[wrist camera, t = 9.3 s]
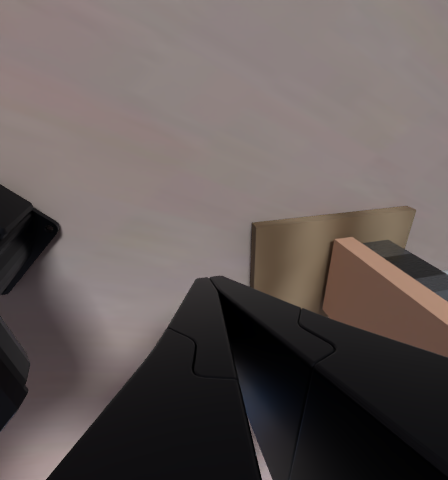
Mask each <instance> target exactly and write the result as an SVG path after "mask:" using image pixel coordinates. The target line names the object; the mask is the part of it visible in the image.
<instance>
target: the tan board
mask: <svg viewBox="0 0 448 480" xmlns="http://www.w3.org/2000/svg"><path fill="white" fill-rule="evenodd" d="M415 212H416V210H415V209H413V208H411V207H408V206H402V207H392V208H383V209H374V210H365V211H356V212H347V213H337V214H328V215H319V216H310V217H301V218H291V219H282V220H273V221H264V222H255V223H252V242H251V275H250V287H251V288H253V289H256V290H258V291H261V292H263V293H266V294H268V295H271V296H273V297H276V298H278V299H281V300H283V301H286V302H288V303H291V304H293V305H296V306H298V307H300V308H301V309H302V308H304V309H307V310H309V311H312V312H314V313H317V314H320V315H322V316H325V317H327V316H328V315H327V314H326V313H325V312H324V311H323V309H322V308H323V302H324V296H325V291H326V285H327V279H328V273H329V268H330V262H331V256H332V250H333V245H334V239H340V238H347V237H353V238H355V239H356V240H358V241H359V242H361V243H366V242H374V241H381V240H390V241H392V242H393V243H395V244H397V245H399V246H400V247H402V248H404V249H405V246H406V242H407V239H408V236H409V232H410V229H411V226H412V222H413V219H414V216H415Z"/></svg>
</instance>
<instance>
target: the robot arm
mask: <svg viewBox="0 0 448 480" xmlns="http://www.w3.org/2000/svg"><path fill="white" fill-rule="evenodd" d="M47 225H50V226H52V227H53V228H54V230H49V229H48V228H47ZM59 229H60V226H59V224H58V222H56V221H55V220H53V219H52V218H50V217H48V216H47V215H45V214H43V213H42V212H40V211H38V210H37V209H35V208H33V206H32V204H31V203H30V202H29V201H27V200H25V199H24V198H22V197H20V196H19V195H17V194H15V193H14V192H12V191H10V190H9V189H7V188H5V187H4V186H2V185H1V184H0V295H5V294H8V293H9V292H10V291H11V290H12V289H13V287H14V286H15V285H16V284H17V282H18V281H19V280H20V279H21V277H22V276H23V275H24V274H25V272H26V271H27V270H28V269H29V267H30V266H31V265H32V264H33V263H34V261H35V260H36V259H37V258H38V256H39V255H40V254H41V253H42V251H43V250H44V249H45V248H46V246H47V245H48V244H49V243H50V241H51V240H52V239H53V238H54V236H55V235H56V234H57V232H58V231H59ZM29 367H30V362H29V359H28V357H27V354H26V352H25V350H24V349H23V347H22V346H21V345H20V343H19V342H18V340H17V339H16V338H15V336H14V335H13V333H12V332H11V330H10V329H9V328H8V326H7V325H6V323H5V322H4V321H3V319H2V318H1V316H0V432H1V431H2V429H3V428H4V427H5V426H6V425H7V423H8V422H9V421H10V420H11V418H12V417H13V416H14V415H15V413H16V412H17V410H18V409H19V407H20V405H21V404H22V402H23V400H24V398H25V397H26V395H27V393H28V388H27V387H26V386H25V384H26V381H27V377H28V372H29ZM247 416H248V417H247ZM248 419H249V421H250V424H251V426H252V429H253V431H254V434H255V436H256V439H257V441H258V444H259V446H260V449H261V452H262V454H263V457H264V459H265V462H266V464H267V467H268V469H269V472H270V474H271V477H272V479H273V480H448V357H445V356H442V355H439V354H436V353H433V352H430V351H427V350H424V349H421V348H418V347H415V346H412V345H409V344H405V343H402V342H399V341H396V340H393V339H390V338H387V337H384V336H381V335H378V334H375V333H372V332H369V331H366V330H363V329H360V328H356V327H353V326H350V325H348V324H345V323H342V322H339V321H336V320H333V319H330V318H327V317H325V316H322V315H320V314H317V313H314V312H312V311H309V310H307V309H304V308H302V309H301V308H300V307H298V306H296V305H293V304H291V303H288V302H286V301H283V300H281V299H278V298H276V297H273V296H271V295H268V294H266V293H263V292H261V291H258V290H256V289H253V288H251V287H248V286H246V285H243V284H241V283H239V282H236V281H234V280H231V279H229V278H226V277H224V276H214V277H210V278H208V277H205V278H197V279H196V280H195V281H194V283H193V285H192V286H191V288H190V290H189V292H188V293H187V295H186V297H185V298H184V300H183V302H182V303H181V305H180V307H179V309H178V310H177V312H176V314H175V315H174V317H173V319H172V320H171V322H170V324H169V326H168V327H167V329H166V330H165V332H164V333H163V335H162V337H161V338H160V340H159V341H158V343H157V344H156V346H155V347H154V349H153V350H152V352H151V353H150V354H149V355H148V357H147V358H146V359H145V361H144V362H143V363H142V364H141V366H140V367H139V368H138V369H137V371H136V372H135V373H134V374H133V375H132V377H131V378H130V379H129V380H128V381H127V383H126V384H125V385H124V386H123V387H122V389H121V390H120V391H119V392H118V393H117V395H116V396H115V397H114V398H113V399H112V401H111V402H110V403H109V404H108V405H107V407H106V408H105V409H104V410H103V412H102V413H101V414H100V415H99V416H98V418H97V419H96V420H95V421H94V422H93V424H92V425H91V426H90V427H89V428H88V430H87V431H86V432H85V433H84V434H83V436H82V437H81V438H80V439H79V440H78V442H77V443H76V444H75V445H74V447H73V448H72V449H71V450H70V451H69V453H68V454H67V455H66V456H65V457H64V459H63V460H62V461H61V462H60V463H59V465H58V466H57V467H56V468H55V469H54V471H53V472H52V473H51V474H50V475H49V477H48V478H47V479H46V480H262V478H261V474H260V469H259V465H258V461H257V456H256V452H255V448H254V443H253V439H252V435H251V430H250V426H249V422H248Z"/></svg>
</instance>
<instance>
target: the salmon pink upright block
mask: <svg viewBox="0 0 448 480" xmlns="http://www.w3.org/2000/svg"><path fill="white" fill-rule="evenodd" d="M442 271H443V272H444V273H446V274H448V270H442ZM322 309H323V311H324V312H325V313H326V314H327V315H328V317H329V318H330V319H333V320H336V321H339V322H342V323H345V324H348V325H350V326H353V327H356V328H360V329H363V330H366V331H369V332H372V333H375V334H378V335H381V336H384V337H387V338H390V339H393V340H396V341H399V342H402V343H405V344H409V345H412V346H415V347H418V348H421V349H424V350H427V351H430V352H433V353H436V354H439V355H442V356H445V357H448V302H447V301H446V300H444V299H443V298H441V297H440V296H439V295H437V294H436V293H434V292H433V291H431V290H430V289H428V288H427V287H425V286H424V285H422V284H421V283H419V282H418V281H416V280H415V279H414V278H412V277H411V276H409V275H408V274H406V273H405V272H403V271H402V270H400V269H399V268H397V267H396V266H394V265H393V264H392V263H390V262H389V261H387V260H386V259H384V258H383V257H381V256H380V255H378V254H377V253H375V252H374V251H372V250H371V249H370V248H368V247H367V246H365V245H364V244H362V243H361V242H359V241H358V240H356V239H355V238H353V237H347V238H340V239H334V245H333V250H332V256H331V262H330V268H329V273H328V279H327V285H326V291H325V296H324V302H323V308H322Z"/></svg>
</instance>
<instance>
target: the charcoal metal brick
mask: <svg viewBox="0 0 448 480" xmlns="http://www.w3.org/2000/svg"><path fill="white" fill-rule="evenodd" d="M362 244H364V245H365V246H367V247H368V248H370V249H371V250H372V251H374V252H375V253H377V254H378V255H380V256H381V257H383V258H384V259H386V260H387V261H389V262H390V263H392V264H393V265H394V266H396V267H397V268H399V269H400V270H402V271H403V272H405V273H406V274H408V275H409V276H411V277H412V278H414V279H415V280H416V281H418V282H419V283H421V284H422V285H424V286H425V287H427V288H428V289H430V290H431V291H433V292H434V293H436V294H437V295H439V296H440V297H441V298H443V299H444V300H446V301H447V302H448V274H446V273H444V272H443V271H441V270H439V269H437V268H436V267H434V266H432V265H431V264H429V263H427V262H426V261H424V260H422V259H421V258H419V257H417V256H415V255H414V254H412V253H410V252H409V251H407V250H405V249H404V248H402V247H400V246H399V245H397V244H395V243H393V242H392V241H390V240H381V241H374V242H366V243H362Z"/></svg>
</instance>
